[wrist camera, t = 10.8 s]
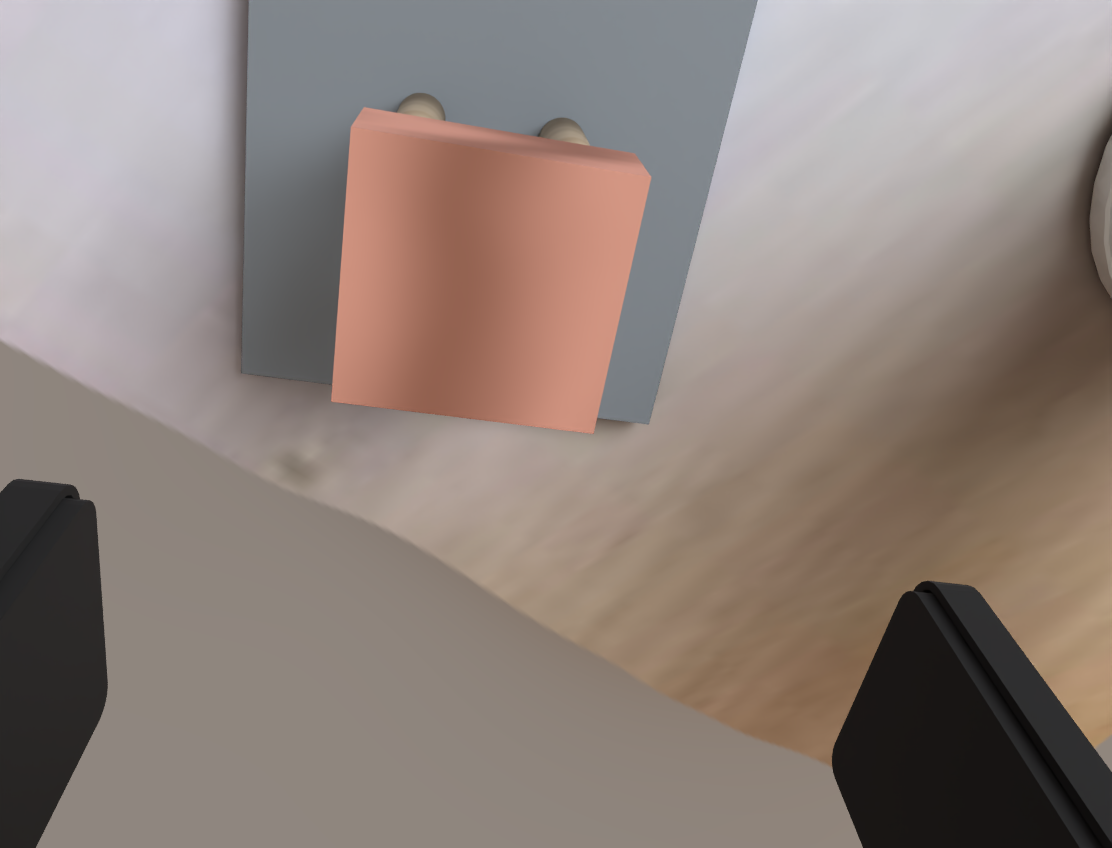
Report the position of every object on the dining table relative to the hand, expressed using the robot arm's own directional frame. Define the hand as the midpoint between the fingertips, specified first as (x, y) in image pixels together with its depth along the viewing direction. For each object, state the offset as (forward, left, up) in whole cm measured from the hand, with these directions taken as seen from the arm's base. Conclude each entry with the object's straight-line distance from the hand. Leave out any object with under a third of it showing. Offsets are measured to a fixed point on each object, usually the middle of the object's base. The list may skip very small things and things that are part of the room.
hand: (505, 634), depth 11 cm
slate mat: (0, 0, -21) cm, 21 cm away
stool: (0, 0, -20) cm, 20 cm away
